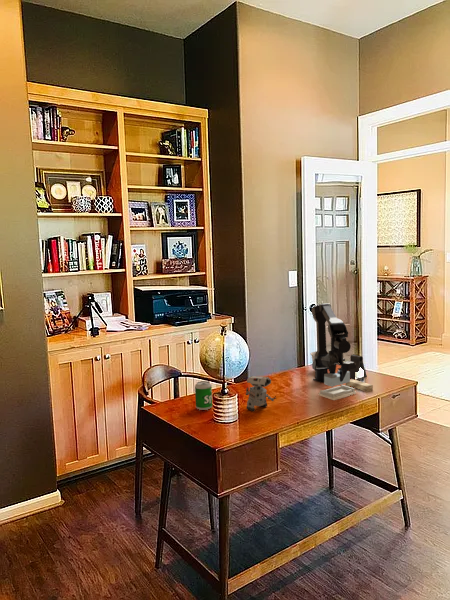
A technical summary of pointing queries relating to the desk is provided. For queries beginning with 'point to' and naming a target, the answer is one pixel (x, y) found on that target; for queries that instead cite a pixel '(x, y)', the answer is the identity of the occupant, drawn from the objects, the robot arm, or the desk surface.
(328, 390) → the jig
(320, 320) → the robot arm
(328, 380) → the light blue block
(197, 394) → the soda can
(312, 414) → the desk surface
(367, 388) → the tan rectangular bar
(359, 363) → the phone stand
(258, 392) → the figurine
